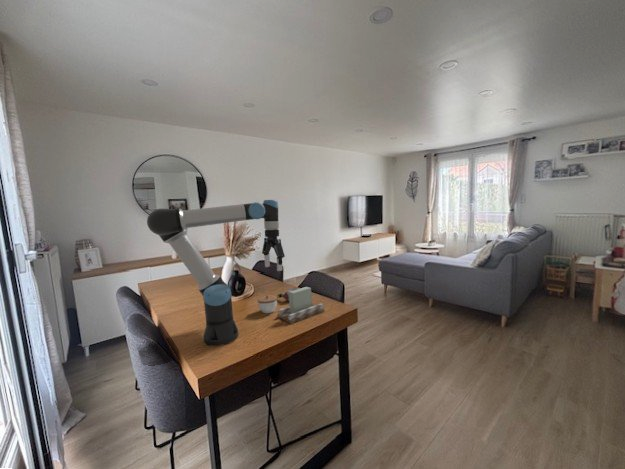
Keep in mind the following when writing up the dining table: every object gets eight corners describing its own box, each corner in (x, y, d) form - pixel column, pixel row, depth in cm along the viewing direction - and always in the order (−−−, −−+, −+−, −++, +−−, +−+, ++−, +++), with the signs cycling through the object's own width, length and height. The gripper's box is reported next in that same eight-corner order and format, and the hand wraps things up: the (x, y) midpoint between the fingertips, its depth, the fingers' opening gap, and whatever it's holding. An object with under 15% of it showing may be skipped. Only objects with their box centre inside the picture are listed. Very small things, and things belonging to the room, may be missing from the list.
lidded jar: (275, 306, 154) (273, 291, 153) (279, 312, 144) (278, 296, 143) (257, 310, 150) (255, 294, 149) (260, 316, 140) (259, 299, 139)
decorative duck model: (273, 291, 162) (286, 284, 175) (275, 303, 163) (288, 295, 176) (293, 292, 155) (305, 284, 168) (295, 304, 155) (307, 295, 168)
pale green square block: (312, 309, 143) (311, 288, 142) (294, 315, 135) (292, 293, 134) (307, 307, 146) (306, 286, 145) (290, 313, 139) (288, 291, 137)
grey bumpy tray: (291, 324, 129) (291, 316, 129) (277, 316, 139) (277, 309, 139) (324, 311, 143) (324, 304, 142) (309, 305, 153) (309, 298, 152)
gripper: (290, 229, 130) (291, 271, 131) (267, 228, 149) (268, 264, 151) (277, 230, 125) (279, 273, 127) (255, 228, 145) (256, 266, 147)
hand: (273, 268), depth 139 cm, fingers open, 13 cm apart
